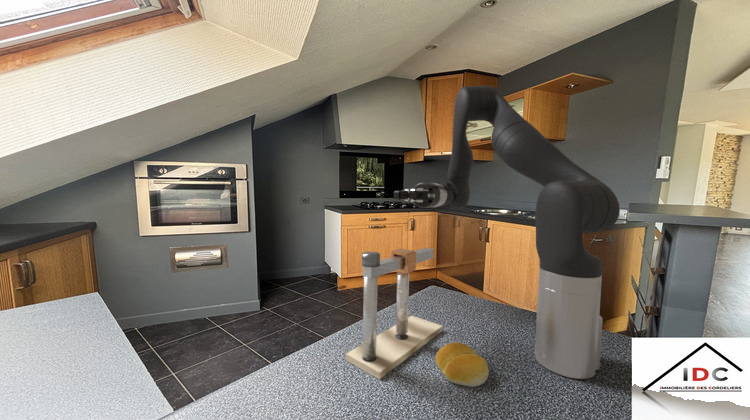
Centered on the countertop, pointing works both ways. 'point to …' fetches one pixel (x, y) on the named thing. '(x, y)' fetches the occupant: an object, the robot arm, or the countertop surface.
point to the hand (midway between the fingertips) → (396, 195)
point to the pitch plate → (395, 346)
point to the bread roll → (462, 365)
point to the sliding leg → (403, 289)
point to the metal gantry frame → (370, 273)
